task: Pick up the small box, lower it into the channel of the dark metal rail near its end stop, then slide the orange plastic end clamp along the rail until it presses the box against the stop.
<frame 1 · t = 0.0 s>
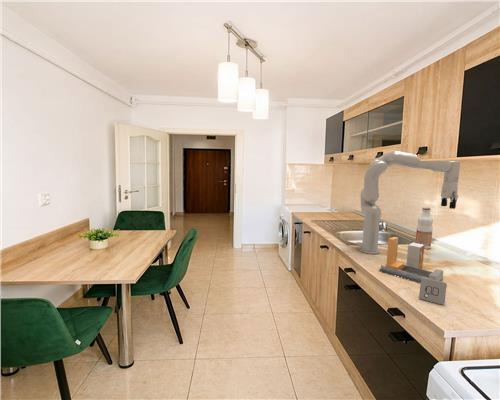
hand: (447, 207, 178), 31 cm above the worktop, tool pointing down, fingers open, 9 cm apart
electrical switch: (431, 300, 122), on the worktop
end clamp: (395, 253, 153), point 10 cm above the worktop, slide at 0.0 cm
small box: (414, 267, 161), on the worktop
din rail: (410, 275, 149), on the worktop
fruit juice: (422, 247, 198), on the worktop
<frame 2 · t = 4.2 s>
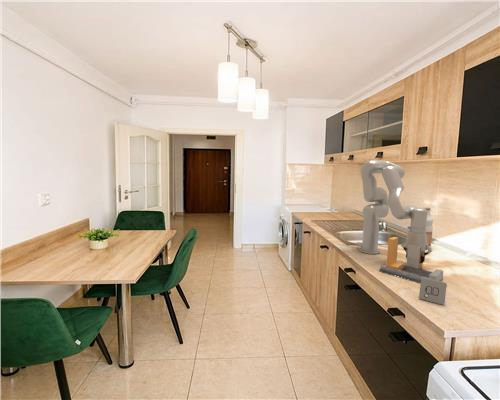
hand: (414, 260, 160), 4 cm above the worktop, tool pointing down, fingers closed on small box, 6 cm apart
small box: (414, 267, 161), on the worktop, touching gripper
everything else where it was.
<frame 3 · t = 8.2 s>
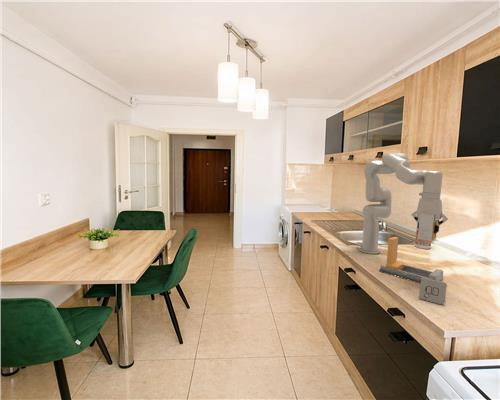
hand: (427, 231, 141), 25 cm above the worktop, tool pointing down, fingers closed on small box, 6 cm apart
small box: (426, 239, 141), point 21 cm above the worktop, touching gripper
everything else where it was.
when the fingers open (6 cm above the worktop, at t = 12.1 s): small box drops 1 cm, resting on din rail.
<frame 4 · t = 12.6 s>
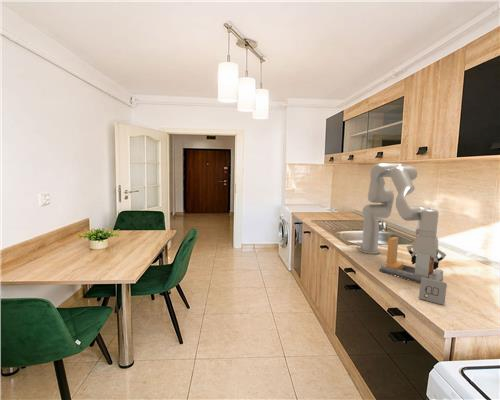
hand: (424, 266, 143), 7 cm above the worktop, tool pointing down, fingers open, 9 cm apart
small box: (423, 277, 144), point 1 cm above the worktop, touching din rail
everything else where it was.
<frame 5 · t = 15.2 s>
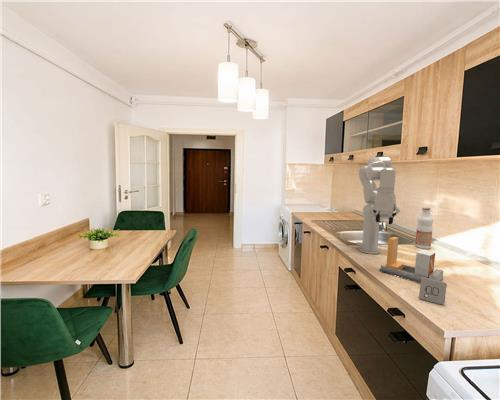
hand: (384, 222, 157), 26 cm above the worktop, tool pointing down, fingers open, 6 cm apart
nothing on the worktop moved.
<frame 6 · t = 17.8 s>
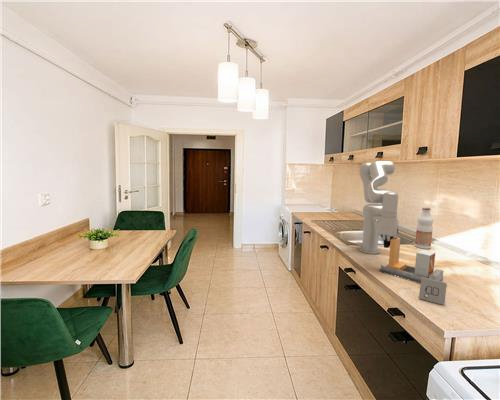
hand: (386, 247, 157), 12 cm above the worktop, tool pointing down, fingers closed
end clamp: (397, 254, 152), point 10 cm above the worktop, slide at 1.1 cm, touching gripper
everything else where it was.
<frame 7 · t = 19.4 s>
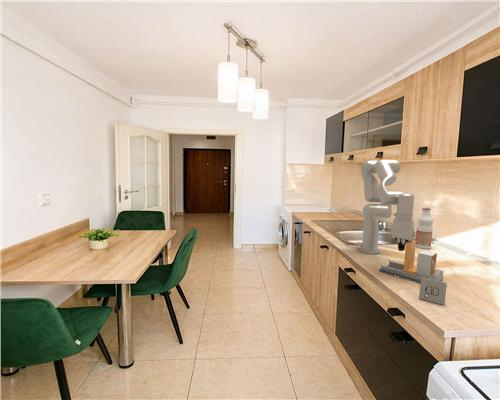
hand: (401, 250, 151), 12 cm above the worktop, tool pointing down, fingers closed
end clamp: (413, 258, 147), point 10 cm above the worktop, slide at 8.7 cm, touching gripper, small box
small box: (425, 277, 144), point 1 cm above the worktop, touching din rail, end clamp
everything else where it was.
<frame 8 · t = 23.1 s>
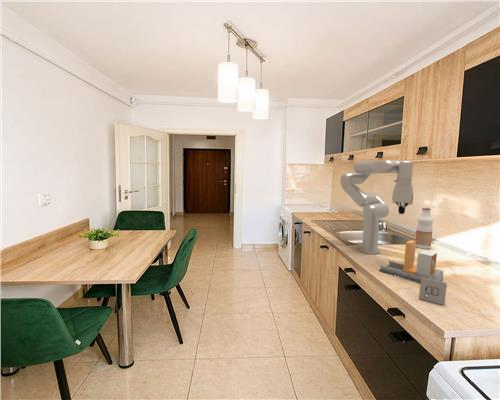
hand: (401, 213, 166), 29 cm above the worktop, tool pointing down, fingers closed
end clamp: (413, 258, 147), point 10 cm above the worktop, slide at 8.7 cm, touching small box
everything else where it was.
at the end: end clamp slide at 8.7 cm; small box 0.1 cm from the target spot on the din rail, point 0.8 cm above the din rail's base; small box tilted 0° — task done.
